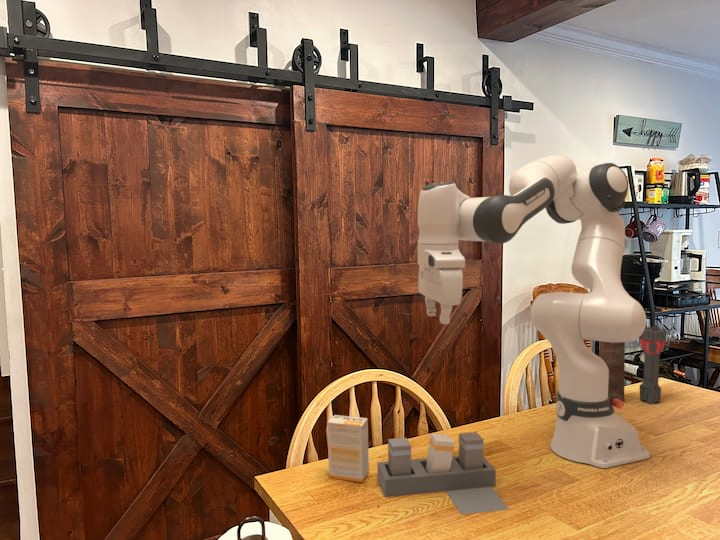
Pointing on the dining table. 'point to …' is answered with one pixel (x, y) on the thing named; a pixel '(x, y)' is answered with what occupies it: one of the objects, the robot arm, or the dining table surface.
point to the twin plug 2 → (470, 451)
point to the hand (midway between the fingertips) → (437, 319)
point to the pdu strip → (435, 478)
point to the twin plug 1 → (399, 457)
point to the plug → (440, 453)
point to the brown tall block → (614, 367)
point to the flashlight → (651, 363)
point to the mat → (476, 500)
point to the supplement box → (348, 448)
